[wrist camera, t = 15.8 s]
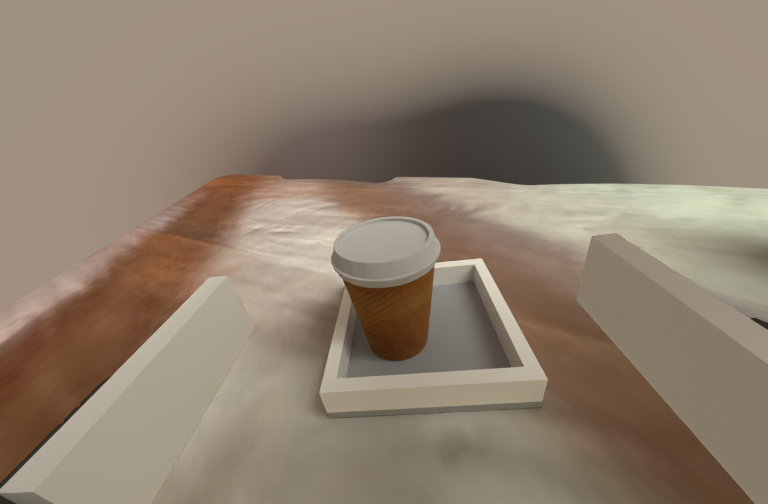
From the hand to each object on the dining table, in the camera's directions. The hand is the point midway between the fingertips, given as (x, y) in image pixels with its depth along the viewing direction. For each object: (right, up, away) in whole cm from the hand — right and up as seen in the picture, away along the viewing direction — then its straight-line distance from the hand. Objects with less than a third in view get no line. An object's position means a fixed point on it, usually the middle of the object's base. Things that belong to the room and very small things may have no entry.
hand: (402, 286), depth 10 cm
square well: (+3, -8, +20) cm, 22 cm away
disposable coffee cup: (+1, -8, +19) cm, 21 cm away
